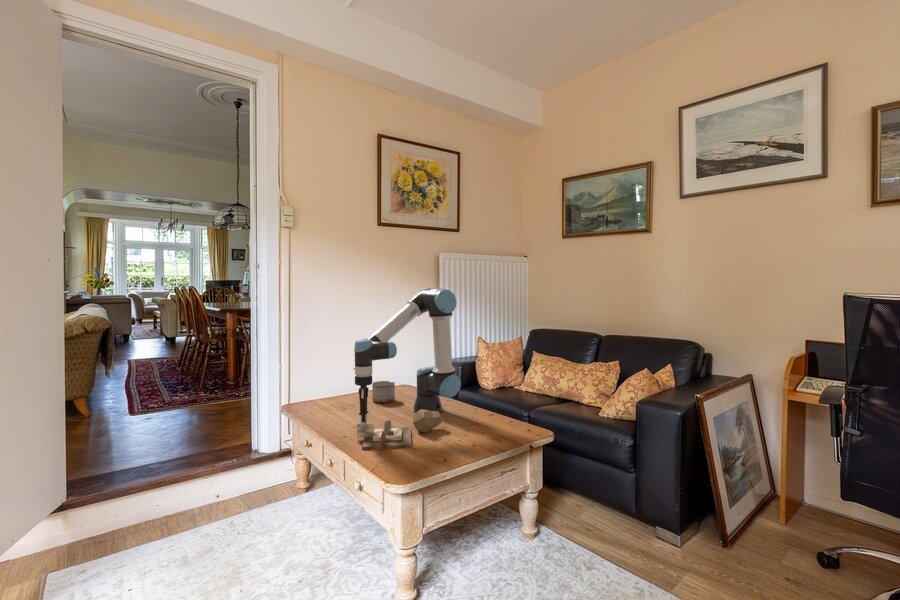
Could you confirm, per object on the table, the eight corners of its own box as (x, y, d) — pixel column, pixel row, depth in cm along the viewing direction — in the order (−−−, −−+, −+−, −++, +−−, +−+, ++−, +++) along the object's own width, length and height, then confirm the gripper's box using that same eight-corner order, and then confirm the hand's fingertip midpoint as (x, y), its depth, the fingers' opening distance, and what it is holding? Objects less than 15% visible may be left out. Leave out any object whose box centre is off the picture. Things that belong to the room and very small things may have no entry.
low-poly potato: (410, 436, 193) (431, 427, 189) (404, 412, 198) (424, 403, 194) (428, 436, 206) (448, 427, 201) (422, 413, 210) (442, 404, 206)
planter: (373, 398, 256) (373, 381, 255) (394, 398, 257) (394, 380, 257) (371, 404, 243) (371, 386, 243) (394, 403, 244) (394, 385, 244)
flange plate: (401, 430, 196) (401, 418, 195) (401, 440, 184) (401, 427, 183) (358, 432, 193) (358, 420, 193) (355, 442, 181) (355, 429, 181)
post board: (410, 429, 201) (410, 412, 201) (411, 447, 179) (411, 428, 179) (366, 431, 199) (366, 414, 198) (362, 449, 177) (361, 430, 177)
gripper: (356, 372, 196) (356, 424, 197) (353, 378, 184) (353, 434, 184) (373, 372, 197) (373, 423, 198) (371, 378, 184) (371, 433, 185)
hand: (363, 428), depth 191 cm, fingers closed
